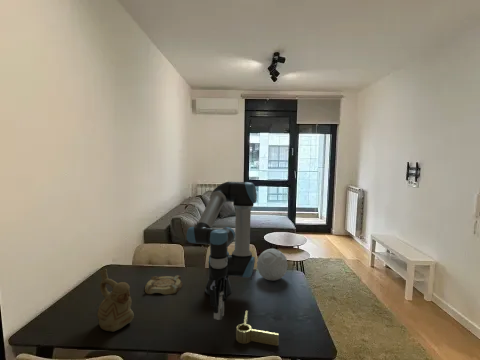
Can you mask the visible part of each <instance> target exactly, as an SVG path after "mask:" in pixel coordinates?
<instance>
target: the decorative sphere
mask: <svg viewBox="0 0 480 360" xmlns="http://www.w3.org/2000/svg"><path fill="white" fill-rule="evenodd" d="M288 267H289V266H288V259H287V257H286V256H285V254H284V253H283V252H282V251H280V250H279V249H276V248H268V249H265V250H264V251H262V252H261V253H260V254H259V255H258V258H257V261H256V269H257V271H258V274H259V275H260V276H261V277H262V278H263V279H265V280H268V281H272V282H273V281H278V280H280V279H282V278H283V277H284V276H285V275H286V273H287V271H288Z"/></svg>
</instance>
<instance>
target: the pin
mask: <svg viewBox="0 0 480 360" xmlns="http://www.w3.org/2000/svg"><path fill="white" fill-rule="evenodd" d="M223 294H224V292H223V291H222V290H220V296H219V305H220V320H222V319H223V316H222V296H223ZM220 320H219V321H220Z"/></svg>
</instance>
